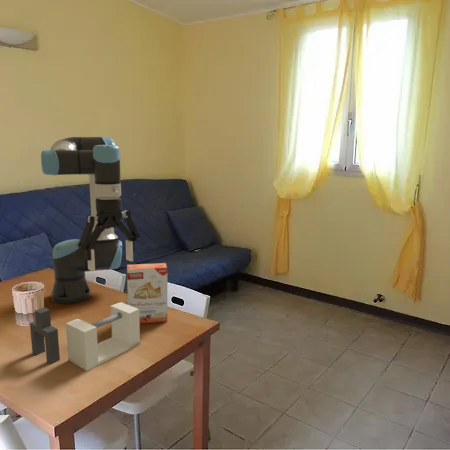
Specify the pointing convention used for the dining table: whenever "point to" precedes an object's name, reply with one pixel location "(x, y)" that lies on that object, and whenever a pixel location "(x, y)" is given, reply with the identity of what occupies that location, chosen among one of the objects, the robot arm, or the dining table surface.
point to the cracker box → (148, 291)
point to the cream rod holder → (119, 342)
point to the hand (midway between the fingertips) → (111, 265)
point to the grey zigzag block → (41, 330)
